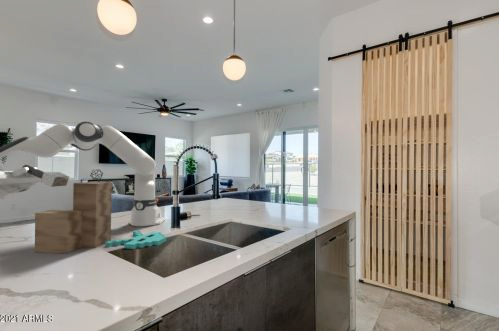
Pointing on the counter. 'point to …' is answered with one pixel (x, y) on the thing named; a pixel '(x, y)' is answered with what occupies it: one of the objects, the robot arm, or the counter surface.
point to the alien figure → (139, 240)
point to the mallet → (49, 177)
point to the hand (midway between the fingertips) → (31, 168)
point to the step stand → (76, 221)
